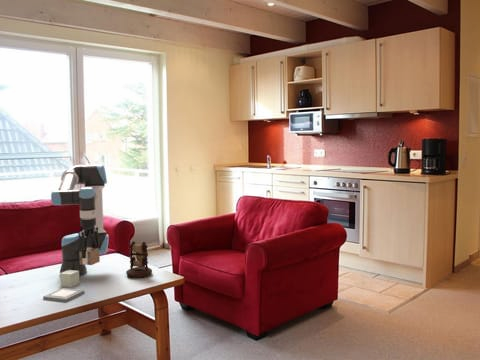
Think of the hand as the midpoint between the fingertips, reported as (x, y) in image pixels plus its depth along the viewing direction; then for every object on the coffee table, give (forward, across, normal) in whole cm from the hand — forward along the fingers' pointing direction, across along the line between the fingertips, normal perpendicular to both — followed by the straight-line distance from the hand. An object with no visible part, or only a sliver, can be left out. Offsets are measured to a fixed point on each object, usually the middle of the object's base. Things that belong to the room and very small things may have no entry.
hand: (89, 262), depth 240 cm
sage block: (+17, +11, +21) cm, 29 cm away
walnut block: (0, 0, 0) cm, 0 cm away
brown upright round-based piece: (+17, +36, -8) cm, 41 cm away
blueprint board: (+17, -6, +12) cm, 21 cm away
